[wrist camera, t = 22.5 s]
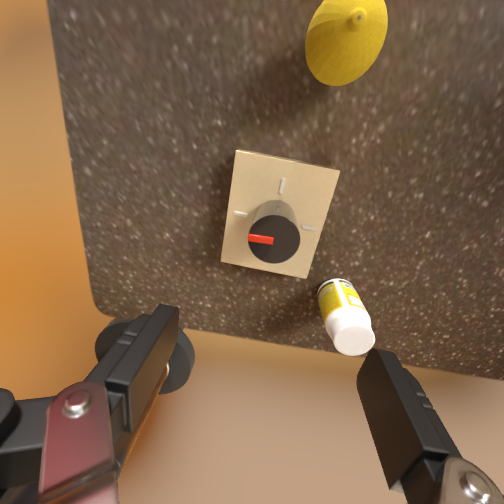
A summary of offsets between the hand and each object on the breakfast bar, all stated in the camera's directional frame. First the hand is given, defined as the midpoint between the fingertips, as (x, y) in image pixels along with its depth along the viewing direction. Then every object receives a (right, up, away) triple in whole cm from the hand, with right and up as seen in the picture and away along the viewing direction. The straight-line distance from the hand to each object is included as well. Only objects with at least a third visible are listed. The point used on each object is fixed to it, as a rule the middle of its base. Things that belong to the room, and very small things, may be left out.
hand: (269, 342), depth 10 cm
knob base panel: (+2, +8, +18) cm, 20 cm away
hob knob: (+2, +7, +16) cm, 17 cm away
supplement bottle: (+10, -1, +22) cm, 24 cm away
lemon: (+7, +21, +12) cm, 25 cm away
